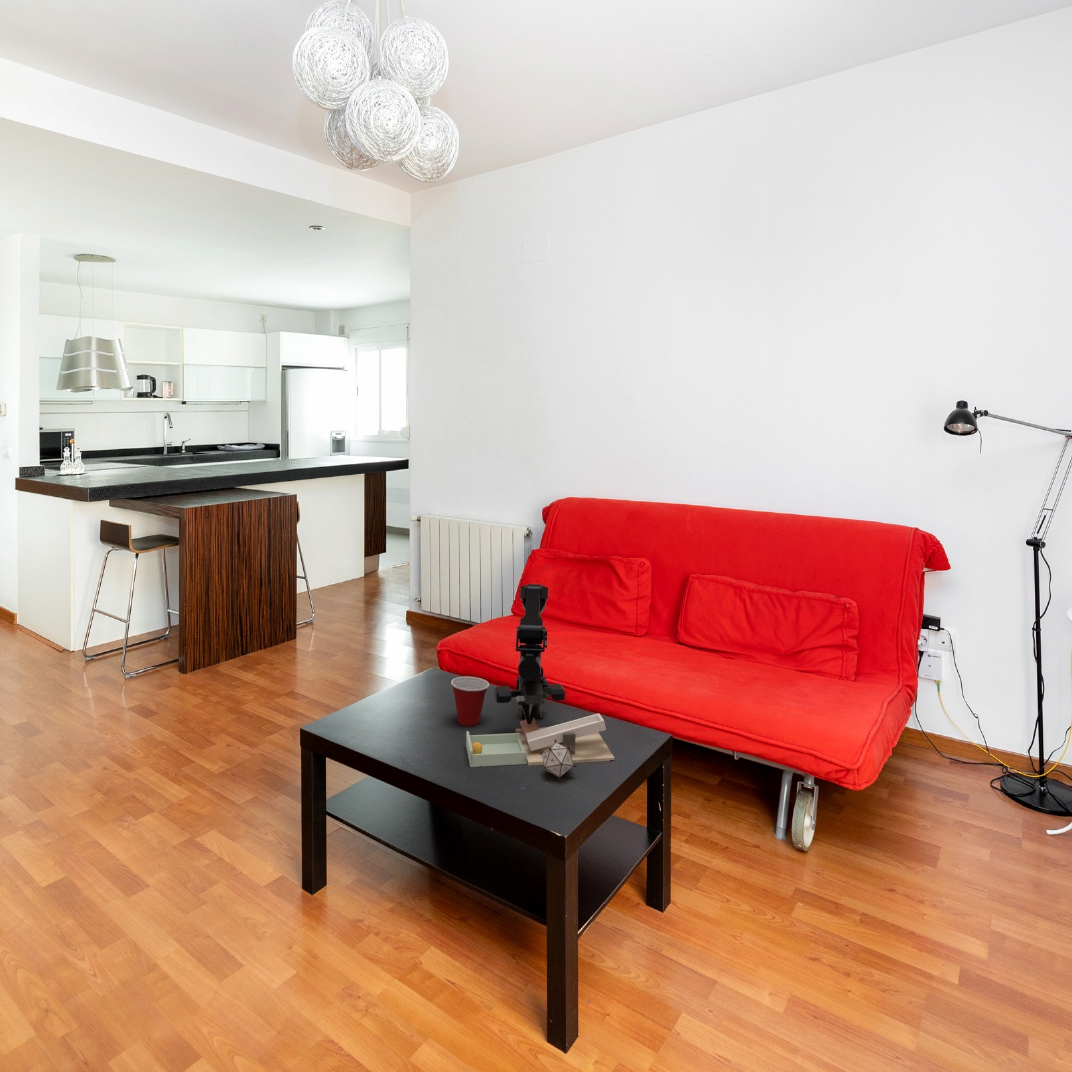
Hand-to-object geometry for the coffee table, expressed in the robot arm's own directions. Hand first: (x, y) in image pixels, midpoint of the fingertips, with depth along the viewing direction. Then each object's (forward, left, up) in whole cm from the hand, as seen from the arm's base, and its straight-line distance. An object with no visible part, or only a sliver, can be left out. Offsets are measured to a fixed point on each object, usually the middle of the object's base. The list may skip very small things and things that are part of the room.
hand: (529, 723), depth 198 cm
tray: (+12, -10, -3) cm, 16 cm away
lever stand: (+8, +8, -3) cm, 12 cm away
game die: (+25, +3, -3) cm, 25 cm away
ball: (+12, -15, -1) cm, 19 cm away
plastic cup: (-10, -15, -3) cm, 19 cm away
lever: (+6, +8, +1) cm, 10 cm away
